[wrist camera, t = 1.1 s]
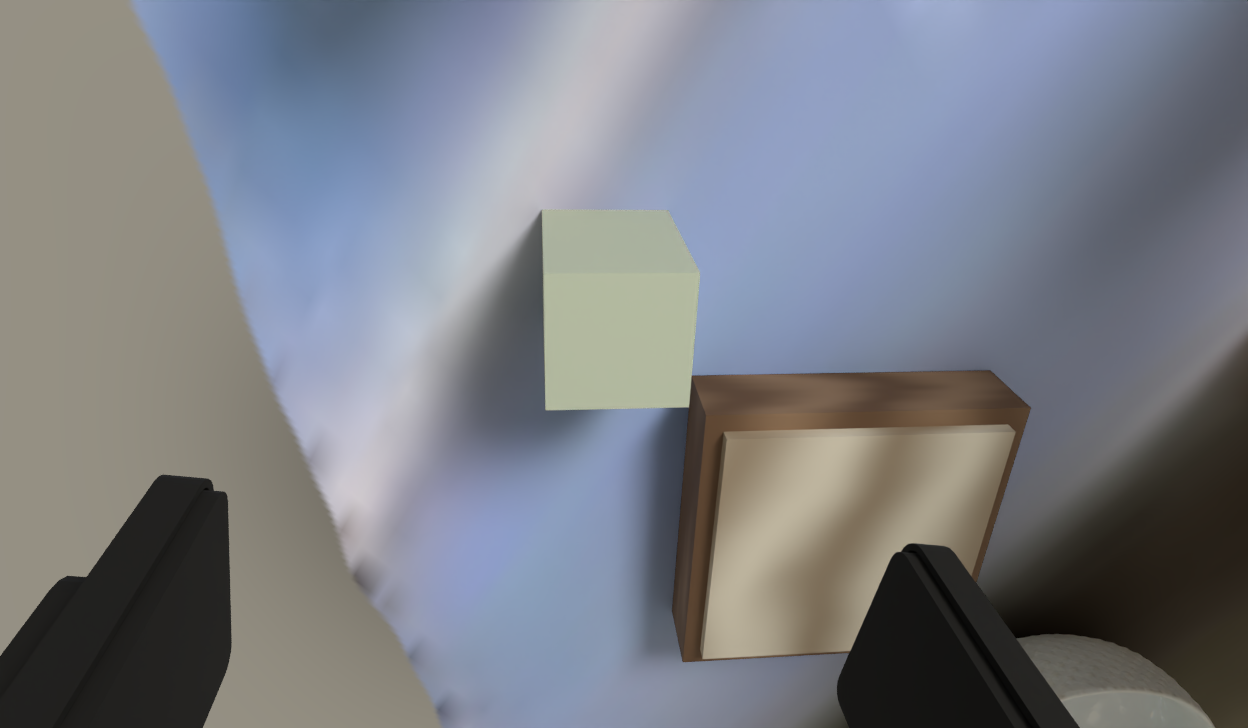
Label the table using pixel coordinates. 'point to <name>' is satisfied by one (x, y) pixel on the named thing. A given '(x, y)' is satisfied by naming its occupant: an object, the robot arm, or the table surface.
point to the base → (828, 498)
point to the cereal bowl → (1111, 684)
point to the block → (617, 310)
